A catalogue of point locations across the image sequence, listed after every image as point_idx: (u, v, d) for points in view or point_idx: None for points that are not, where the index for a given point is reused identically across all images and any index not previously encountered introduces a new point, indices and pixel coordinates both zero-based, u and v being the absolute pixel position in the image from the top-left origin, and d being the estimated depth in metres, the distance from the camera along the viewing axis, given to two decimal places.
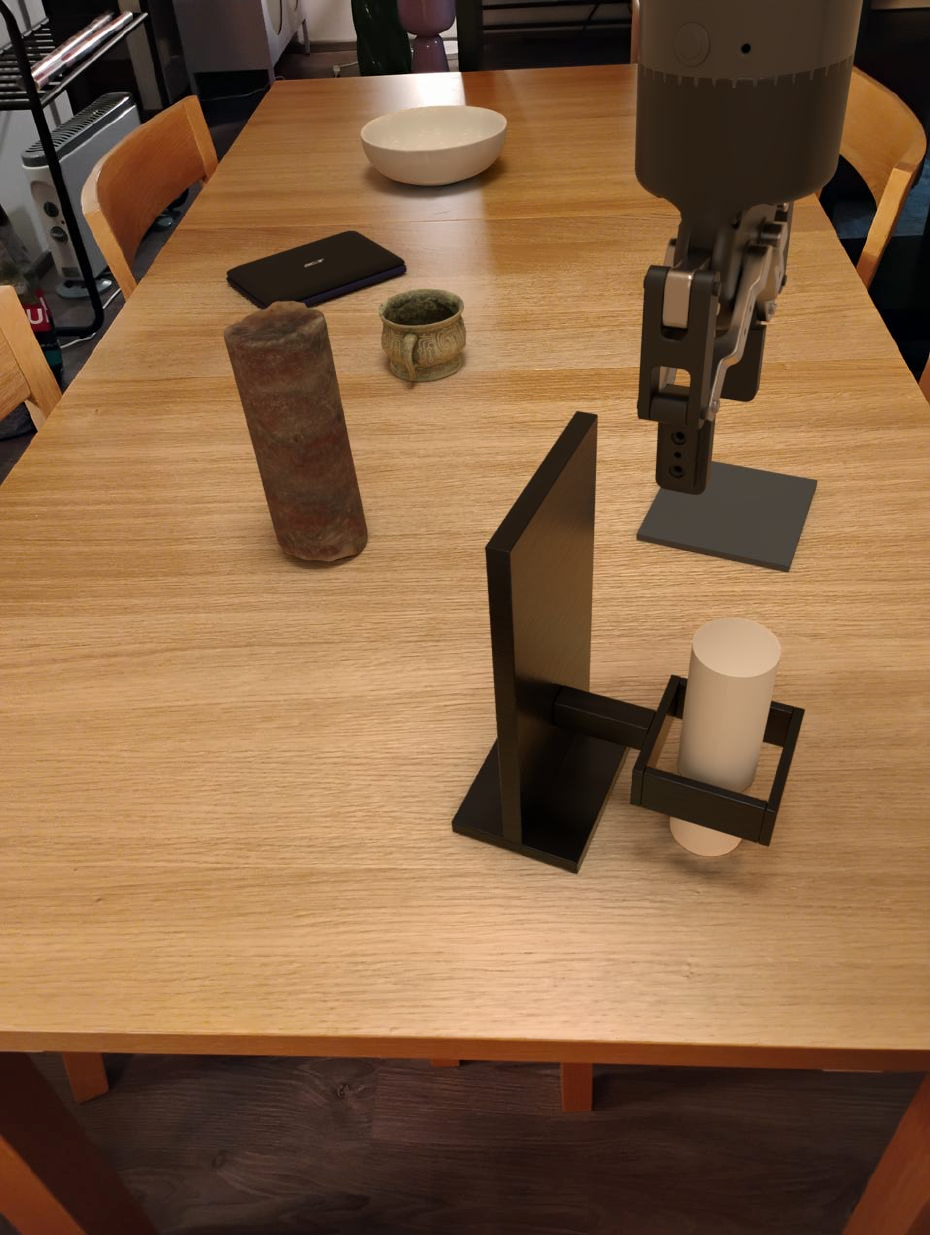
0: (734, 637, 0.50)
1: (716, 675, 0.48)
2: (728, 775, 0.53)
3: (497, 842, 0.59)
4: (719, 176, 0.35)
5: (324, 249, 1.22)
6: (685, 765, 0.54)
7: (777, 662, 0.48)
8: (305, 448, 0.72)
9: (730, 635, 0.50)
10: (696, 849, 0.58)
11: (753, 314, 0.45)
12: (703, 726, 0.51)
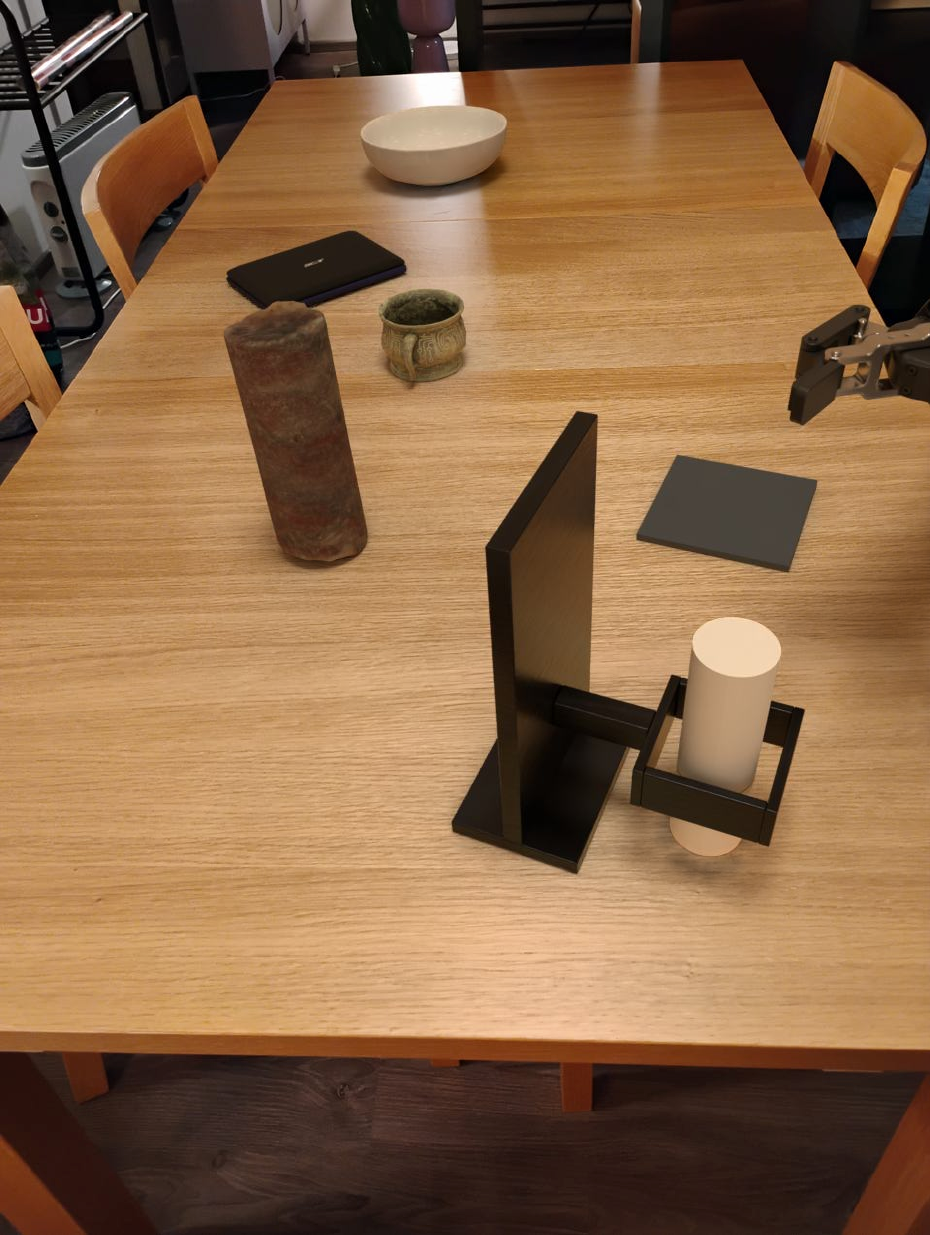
0: (734, 637, 0.50)
1: (716, 675, 0.48)
2: (728, 775, 0.53)
3: (497, 842, 0.59)
4: None
5: (324, 249, 1.22)
6: (685, 765, 0.54)
7: (777, 662, 0.48)
8: (305, 448, 0.72)
9: (730, 635, 0.50)
10: (696, 849, 0.58)
11: None
12: (703, 726, 0.51)
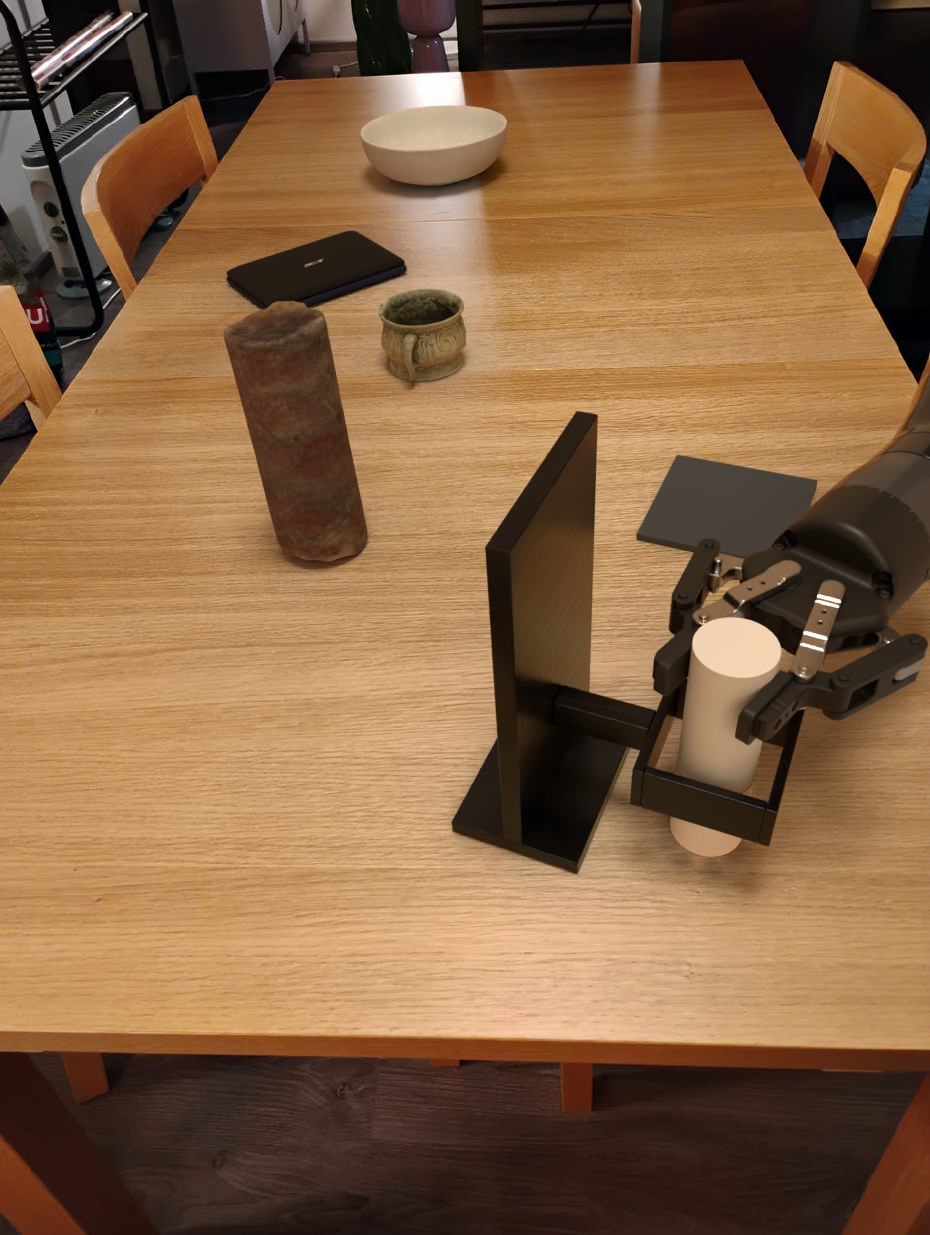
0: (734, 637, 0.50)
1: (717, 676, 0.48)
2: (728, 775, 0.53)
3: (497, 842, 0.59)
4: None
5: (324, 249, 1.22)
6: (685, 765, 0.54)
7: (777, 662, 0.48)
8: (305, 448, 0.72)
9: (730, 635, 0.50)
10: (696, 849, 0.58)
11: (789, 672, 0.50)
12: (704, 727, 0.51)
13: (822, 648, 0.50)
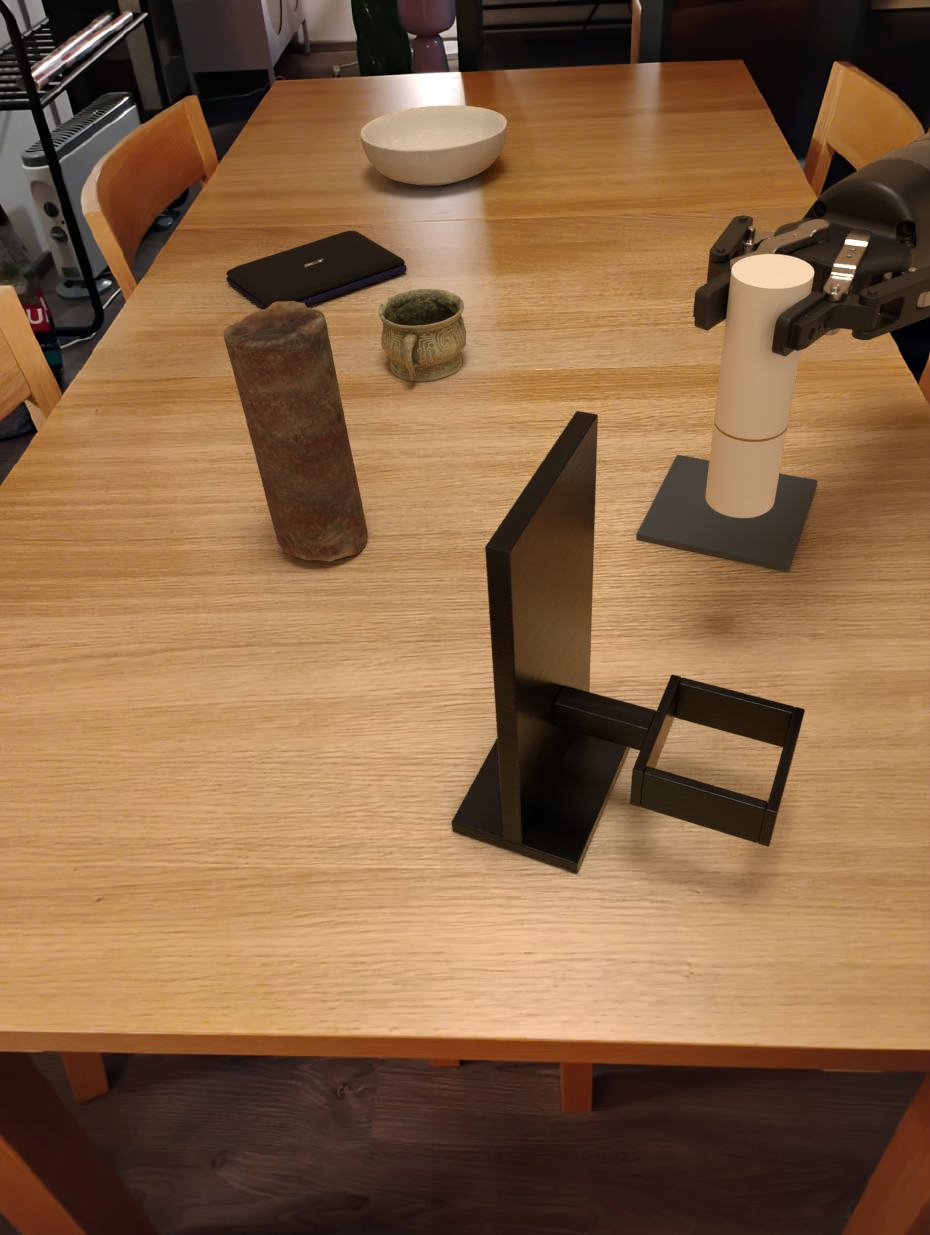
0: (770, 265, 0.54)
1: (755, 291, 0.52)
2: (763, 413, 0.57)
3: (497, 842, 0.59)
4: None
5: (324, 249, 1.22)
6: (722, 413, 0.58)
7: (811, 279, 0.52)
8: (305, 448, 0.72)
9: (766, 264, 0.54)
10: (731, 511, 0.62)
11: None
12: (741, 356, 0.55)
13: (851, 275, 0.54)
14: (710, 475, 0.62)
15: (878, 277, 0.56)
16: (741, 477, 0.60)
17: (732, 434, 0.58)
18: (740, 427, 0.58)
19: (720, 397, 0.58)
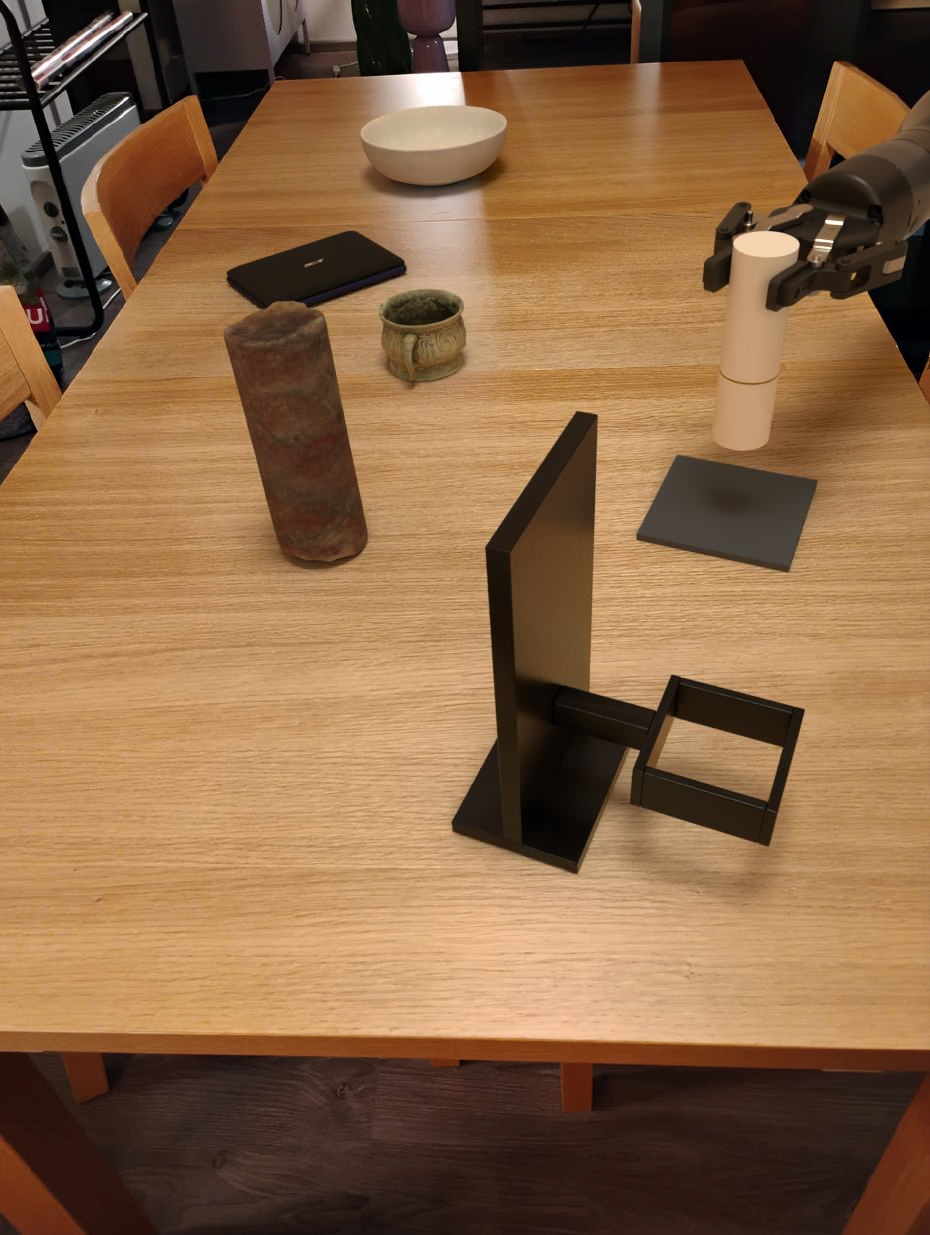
0: (764, 240, 0.67)
1: (752, 259, 0.66)
2: (759, 360, 0.70)
3: (497, 842, 0.59)
4: None
5: (324, 249, 1.22)
6: (726, 361, 0.72)
7: (796, 250, 0.66)
8: (305, 448, 0.72)
9: (761, 239, 0.67)
10: (733, 444, 0.75)
11: None
12: (741, 314, 0.68)
13: (830, 248, 0.67)
14: (716, 415, 0.75)
15: (852, 250, 0.70)
16: (741, 415, 0.73)
17: (734, 379, 0.72)
18: (740, 372, 0.71)
19: (724, 348, 0.71)
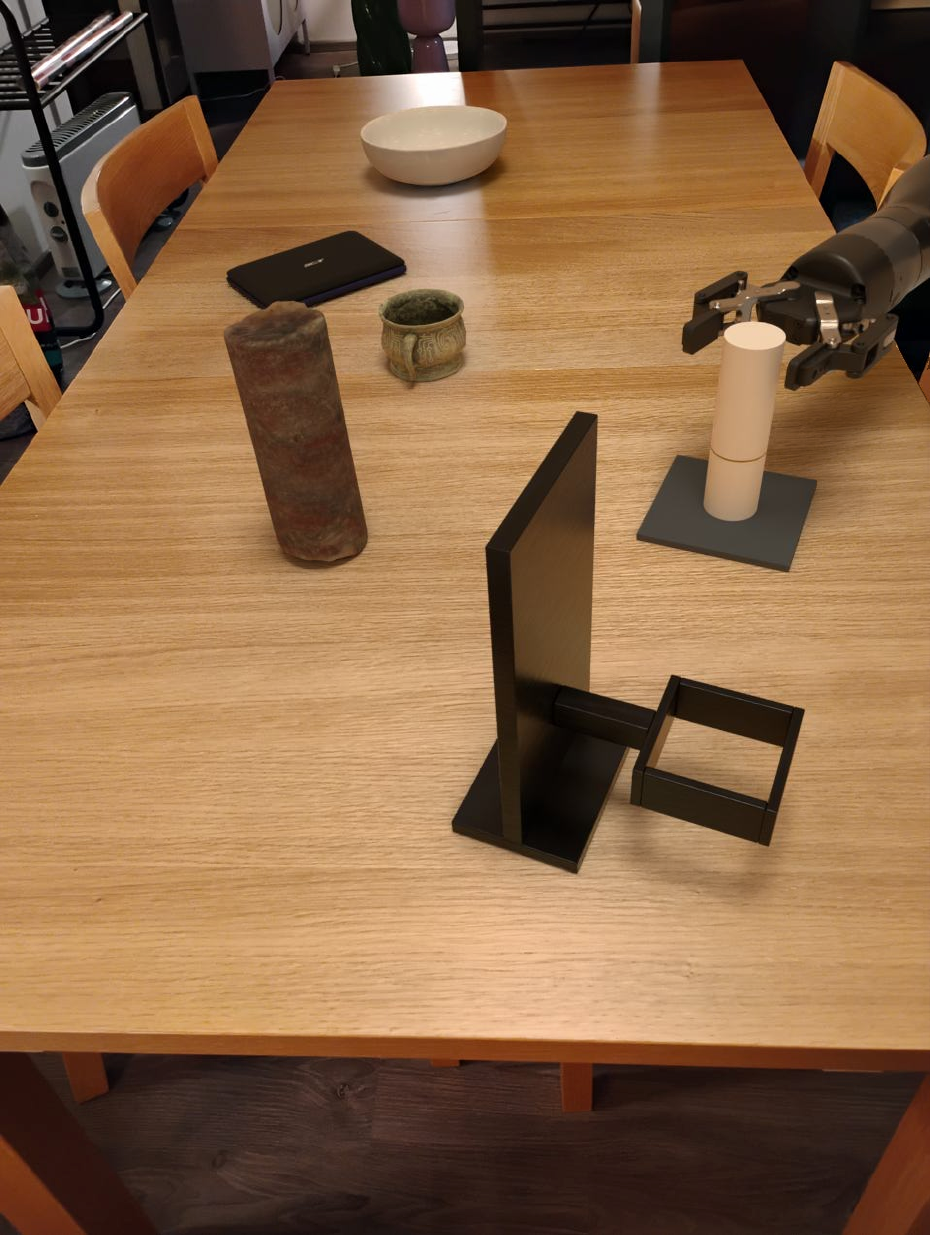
0: (753, 331, 0.72)
1: (741, 351, 0.70)
2: (748, 441, 0.75)
3: (497, 842, 0.59)
4: None
5: (324, 249, 1.22)
6: (717, 440, 0.76)
7: (783, 342, 0.70)
8: (305, 448, 0.72)
9: (750, 330, 0.72)
10: (723, 515, 0.80)
11: None
12: (731, 398, 0.73)
13: (836, 327, 0.71)
14: (707, 488, 0.80)
15: None
16: (731, 489, 0.78)
17: (724, 456, 0.76)
18: (730, 451, 0.76)
19: (715, 428, 0.76)
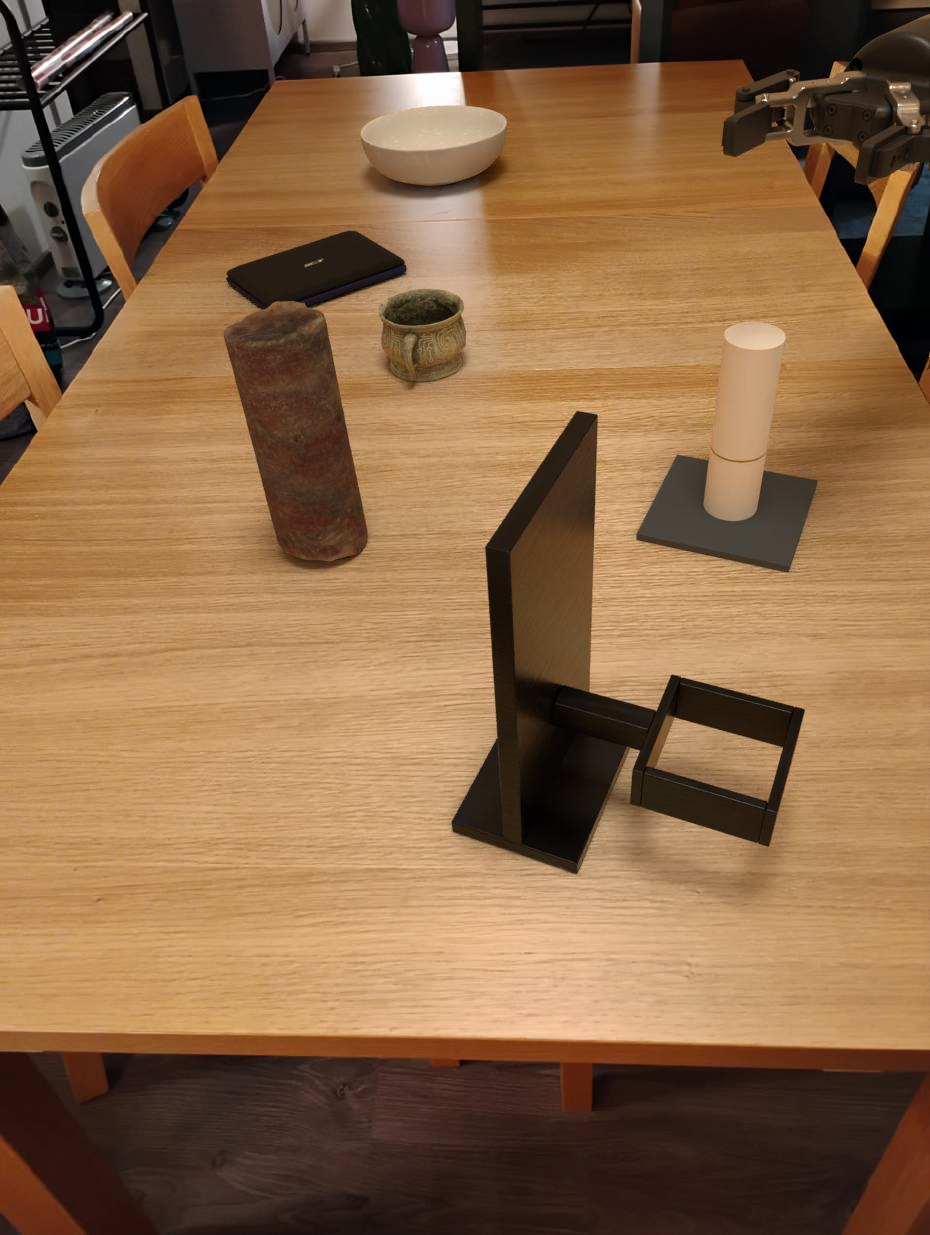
0: (753, 331, 0.72)
1: (741, 351, 0.70)
2: (748, 441, 0.75)
3: (497, 842, 0.59)
4: None
5: (324, 249, 1.22)
6: (717, 440, 0.76)
7: (783, 342, 0.70)
8: (305, 448, 0.72)
9: (750, 330, 0.72)
10: (723, 515, 0.80)
11: None
12: (731, 398, 0.73)
13: (917, 111, 0.57)
14: (707, 488, 0.80)
15: None
16: (731, 489, 0.78)
17: (724, 456, 0.76)
18: (730, 451, 0.76)
19: (715, 428, 0.76)
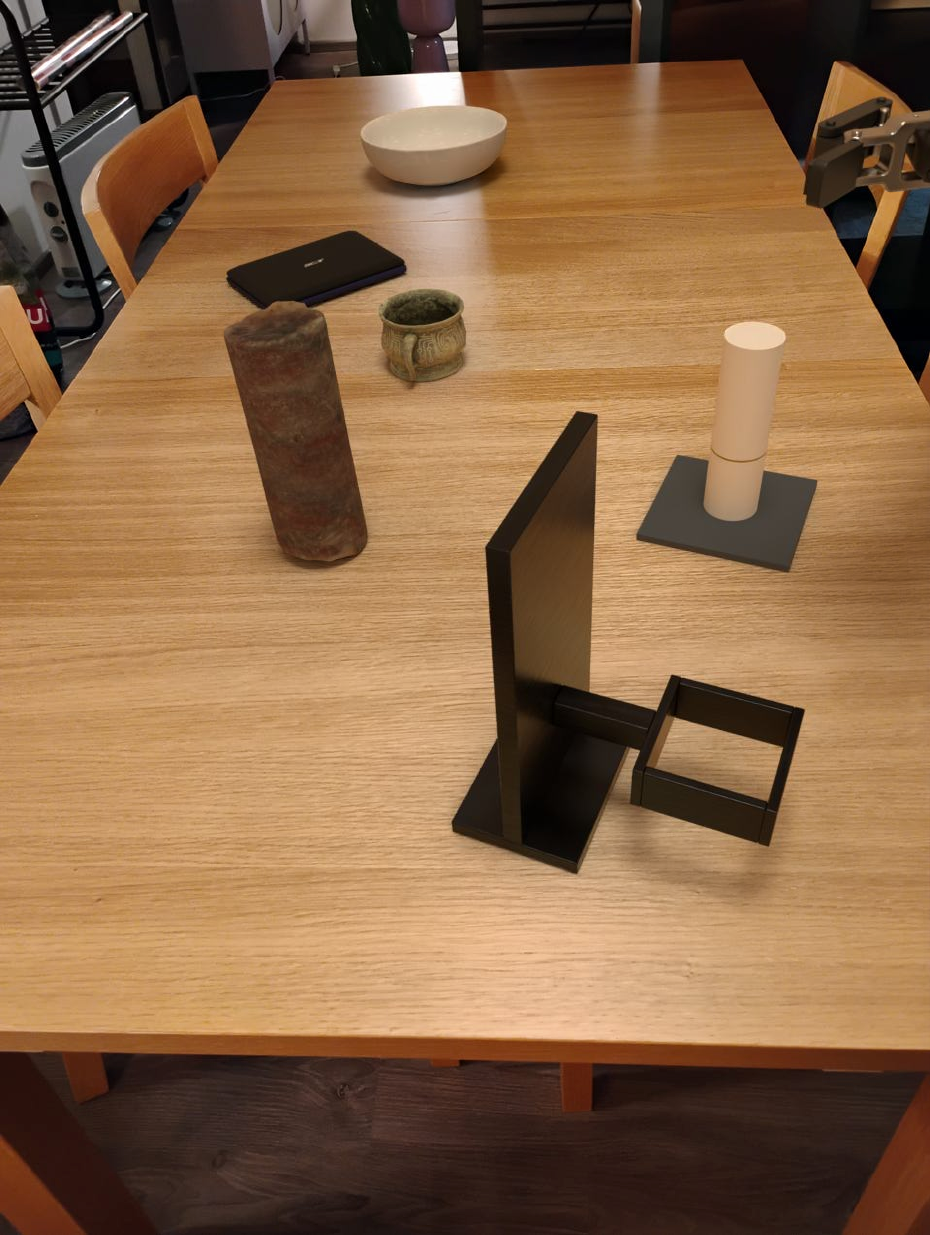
0: (753, 331, 0.72)
1: (741, 351, 0.70)
2: (748, 441, 0.75)
3: (497, 842, 0.59)
4: None
5: (324, 249, 1.22)
6: (717, 440, 0.76)
7: (783, 342, 0.70)
8: (305, 448, 0.72)
9: (750, 330, 0.72)
10: (723, 515, 0.80)
11: None
12: (731, 398, 0.73)
13: None
14: (707, 488, 0.80)
15: None
16: (731, 489, 0.78)
17: (724, 456, 0.76)
18: (730, 451, 0.76)
19: (715, 428, 0.76)
